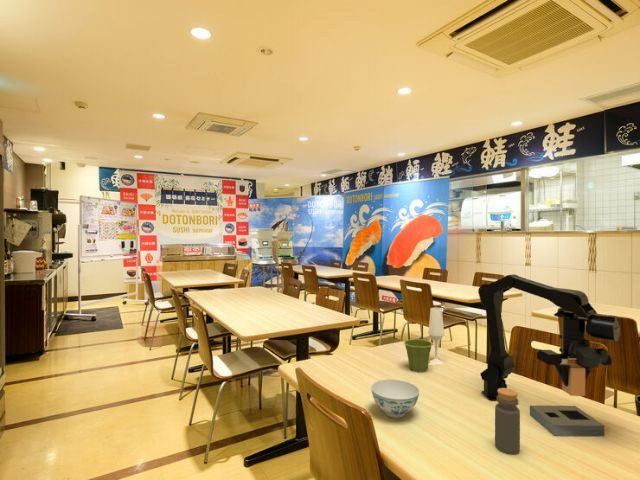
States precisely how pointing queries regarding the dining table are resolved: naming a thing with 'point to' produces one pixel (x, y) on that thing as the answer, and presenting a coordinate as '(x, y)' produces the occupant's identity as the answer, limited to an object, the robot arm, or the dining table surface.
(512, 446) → the bottle
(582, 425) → the socket plate
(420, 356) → the plant pot
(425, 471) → the dining table surface
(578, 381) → the peg
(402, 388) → the chinaware
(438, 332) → the champagne flute
